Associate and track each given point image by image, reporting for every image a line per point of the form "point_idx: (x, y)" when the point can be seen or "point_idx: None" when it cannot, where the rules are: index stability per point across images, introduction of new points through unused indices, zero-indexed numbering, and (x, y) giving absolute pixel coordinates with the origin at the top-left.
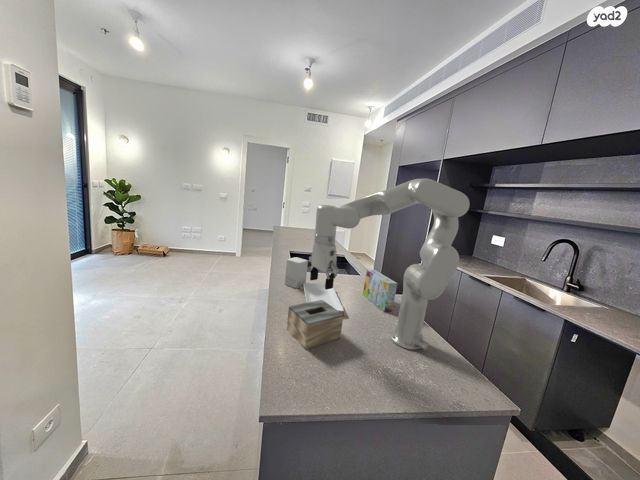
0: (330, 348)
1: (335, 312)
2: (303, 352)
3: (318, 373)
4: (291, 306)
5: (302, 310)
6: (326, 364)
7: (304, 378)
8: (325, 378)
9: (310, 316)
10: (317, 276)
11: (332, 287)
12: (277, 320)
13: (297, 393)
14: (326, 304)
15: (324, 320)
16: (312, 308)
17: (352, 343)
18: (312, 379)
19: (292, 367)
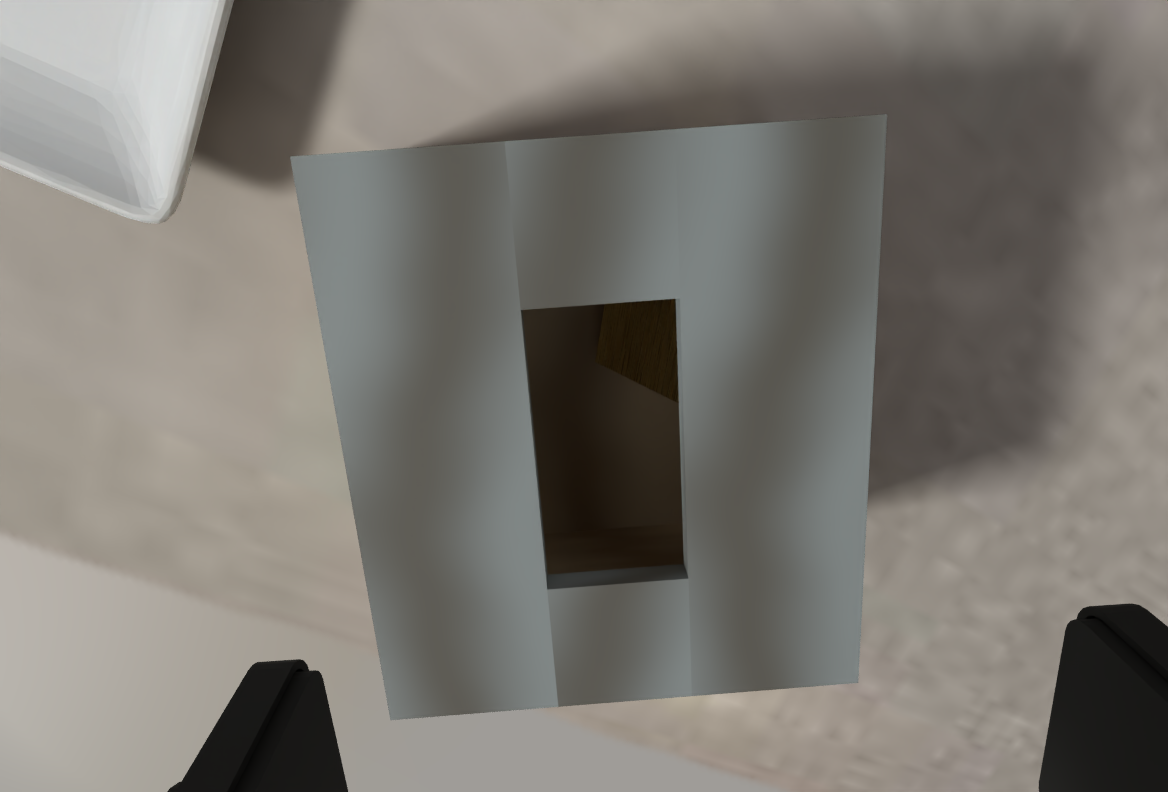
0: None
1: (772, 202)
2: None
3: (1042, 562)
4: (404, 694)
5: (550, 616)
6: (1002, 466)
7: (1026, 659)
8: (1107, 544)
9: (729, 594)
10: (283, 748)
11: (1136, 618)
12: (254, 566)
13: None
14: (480, 186)
15: (862, 460)
16: (535, 467)
17: (903, 54)
18: (1062, 621)
19: (898, 684)
